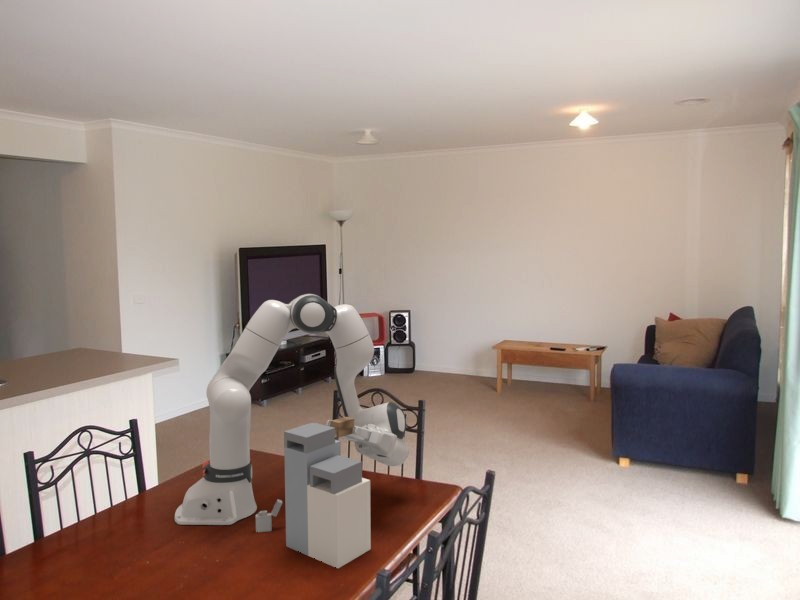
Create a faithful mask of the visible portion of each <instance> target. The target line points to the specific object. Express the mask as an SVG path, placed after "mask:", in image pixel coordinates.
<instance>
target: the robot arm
mask: <svg viewBox="0 0 800 600" xmlns="http://www.w3.org/2000/svg"><path fill="white" fill-rule="evenodd" d="M294 329H298V330H300V331H301V332H303V333H306V334H319V333H326V334H327V335H328V337H329V338H330V341H331V343H332V345H333V348H334V351H335V353H336V364H335V366H334V370H333V371H334V372H333V374H334V379H335V383H336V389H337V393H338V396H339V399H340V400H339V401H340V403H341V407H342V412H343V415H344V416H343V417H350V418H354V427H353V430H352V433H353V434H350V435H346V436H343V437H340V438H339V439H342V440H343V441H344V440H345V441H348V442H352V443H354V447H355V450H356V451H357V453H359V454H360V455H362V456H364V457H367V458H368V459H371V460H375V461H376V462H378V463H381V464H382V465H385V466H388V467H399V466H401V465H403V464H404V463H405V462H406V461H407V459H408V458H409V456H410V447H409V444H408V443H407V441H406V438H405V434H406V428H407V417H406V414H405V412H404V411H403V409H402V408H401V407H400V406H399V405H398V404H397V403H396V402H393V401H389V402H385V403H384V402H383V403H381V404H377V405H374V406H371V407H368V408H362V407H361V405H360V401H359V397H358V394H357V390H356V386H355V385H356V384H355V381H356V378H357V376H358V375H359V374H360V373H361V372H362V371H363V370H364V369H365V368H366V367H367V366H368V365H370V363H371V361H372V359H373V357H374V354H375V346H374V342H373V339H372V338H371V335H370V332H369V330H368V328H367V326H366V325H365V322H364V321H363V319H362V317H361V315H360V314H359V312H358V311H357V309H356V308H355V307H354V306H353V305H351V304H345V303H343V304H338V305H335V306H333V305H332V304H330V303H329V302H328V301H326V300H325V299H324V298H322V297H321V296H319V295H317V294H314V293H304V294H301V295H298V296H297V297H295V298H294V299H292V300H290V301H289V302H287V303H285V302H282V301H279V300H275V299H268V300H266V301H264V302H262V304H261V305H260V306H259V307H258V308H257V310H256V311H255V312H254V314H253V315H252V316H251V318H250V319H249V321H248V322H247V323H246V325H245V327H244V329H243V331H242V332H241V335H240V336H239V338H238V339H237V341H236V343H235V344H234V346H233V348H232V349H231V351H230V353H229V354H228V356H227V357H226V358H225V360H224V361H223V363H222V364H221V365H220V366H219V367H218V369H217V371H216V373H215V374H214V375H213V376H212V378H211V380H210V381H209V383H208V385H207V387H206V393H205V394H206V397H207V401H208V406H209V434H208V435H209V437H208V439H209V440H208V441H209V447H208V448H209V461H208V460H205V461H204V462H203V464H202V477H201V478H200V479H199V480H197V482H195V483H194V484H193V485H192V486H190V487H189V488H188V489H187V490H186V492H185V494H184V498H183V501H182V503H181V504H180V505H179V506H178V507H177V508H176V510H175V513H174V522H175V523H176V524H177V525H183V526H185V525H188V526H189V525H191V526H194V525H195V526H196V525H197V526H198V525H200V526H201V525H208V526H212V525H213V526H225V525H226V526H230V525H233V524H235V523H237V522H238V521H240V520H242V519H246V518H247V517H249V516H251V515H253V514H255V513H256V511H257V509H258V506H257V503H256V500H255V497H254V492H253V491H254V490H253V485H252V480H253V465H252V460H251V456H250V455H251V454H250V453H251V451H250V450H251V449H250V430H251V419H252V418H251V417H252V416H251V414H252V396H251V393H250V390H251V388H253V386H254V385H255V383H256V382H257V380H258V379H259V378H260V376H262V375H263V373H264V372H266V371H267V369H268V367H269V366H270V364H271V362H272V360H273V358H274V357H275V355H276V354H277V352H278V350H279V348H280V346H281V344H282V343H283V341H284V339H285V337H286V336H287V334H288V333H290V332H291V331H292V330H294ZM332 420H333V419H328V420H327V421H326V423H325V425H326V426H330V427H331V421H332Z"/></svg>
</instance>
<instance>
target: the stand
mask: <svg viewBox="0 0 800 600" xmlns="http://www.w3.org/2000/svg"><path fill="white" fill-rule="evenodd" d="M341 442H342V441H341V440H338V439H336V438H335V428H334V427H330V426H326V424H325V425H324V424H321V423H317V422H309V423H307V424H302V425H300V426H297V427H294V428H291V429H290V428H289V429H288V430H285V431H284V430H283V443H284V444H283V445H284V446H283V448H284V451H283V452H284V453H283V454H284V493H285V494H284V496H285V497H284V499H285V500H284V501H285V503H284V504H285V506H284V507H285V544H286V545H285V546H286V548H289V549H291V550H294V551H295V552H298V551H299V552H298V553H300V552H301V554H303V555H306V556H307V557H310V558H312V559H314V558H315V559H314V560H317V561H319V562H321V561H322V562H321V563H323V564H327V565H328V566H331V567H333V568H335V567H336V569H340V568H342V567H343V566H345V565H346V564H348V563H350V562H352V561H353V560H355V559H357V558H358V557H360V556H362V555H363V554H366V552H368V551H370V550H371V549H372V548H371V547H372V546H371V544H372V543H371V541H372V539H371V537H372V536H371V535H372V534H371V533H372V532H371V522H372V521H371V520H372V519H371V518H372V517H371V479H367V478H365V477H363V464H362V463H363V462H362V461H361V460H357V459H354V458H350V457H348V456H347V457H346V456H343V455H342V452H341V451H342V449H341V448H342V447H341V446H342V445H341V444H342V443H341ZM302 444H303V445H302Z"/></svg>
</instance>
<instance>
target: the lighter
mask: <svg viewBox="0 0 800 600" xmlns="http://www.w3.org/2000/svg"><path fill="white" fill-rule="evenodd" d="M282 505H283V500H282V499H278V498H277V499H276V501H275V503H274V505H273V508H272V510H271V512H268V510H260V511H259V512H258V513H256V514H255V533H256V534H257V532H258V533H265V532H272V530H273V528H272V527H273V525H272V519H273V518H272V517H277V515H278V514H279V511H280V510H281V507H282Z"/></svg>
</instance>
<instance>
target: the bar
mask: <svg viewBox="0 0 800 600" xmlns="http://www.w3.org/2000/svg"><path fill="white" fill-rule="evenodd" d="M331 420H332V421H331V427H334V428H335V439H336V438H338V439H341V438H340V437H343V436H346V435H350V434H353V433H352V430H353V427H354V418H350V417H345V416H343V417H340V418H336V419H331ZM302 445H303V444H302Z"/></svg>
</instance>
